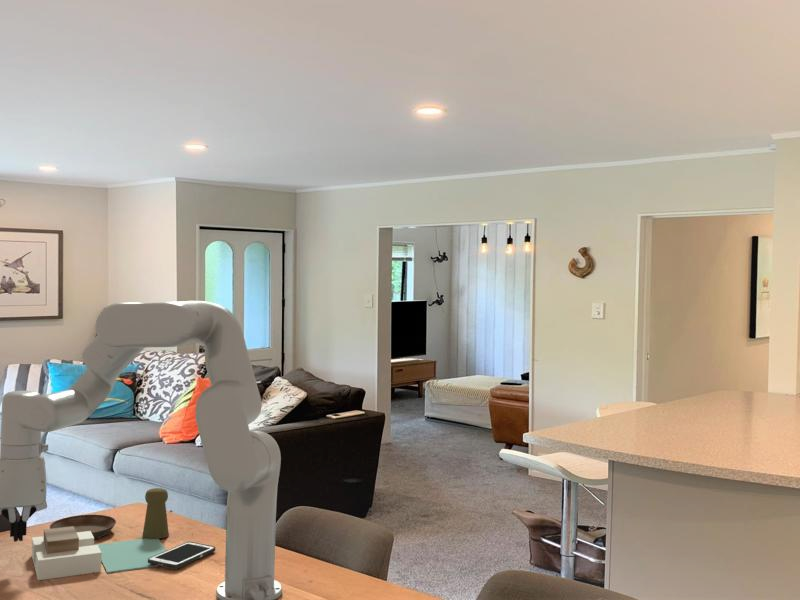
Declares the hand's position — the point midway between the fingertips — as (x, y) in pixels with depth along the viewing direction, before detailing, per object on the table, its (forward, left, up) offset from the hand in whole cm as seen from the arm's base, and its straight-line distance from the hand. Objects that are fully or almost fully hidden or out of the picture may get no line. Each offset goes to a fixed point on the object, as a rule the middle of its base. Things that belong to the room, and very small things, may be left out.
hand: (17, 539), depth 167 cm
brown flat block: (0, -8, -2) cm, 9 cm away
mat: (0, -23, -6) cm, 24 cm away
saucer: (+20, -15, -7) cm, 26 cm away
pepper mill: (+11, -30, -6) cm, 33 cm away
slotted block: (0, -9, -6) cm, 11 cm away
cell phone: (-7, -32, -6) cm, 34 cm away
